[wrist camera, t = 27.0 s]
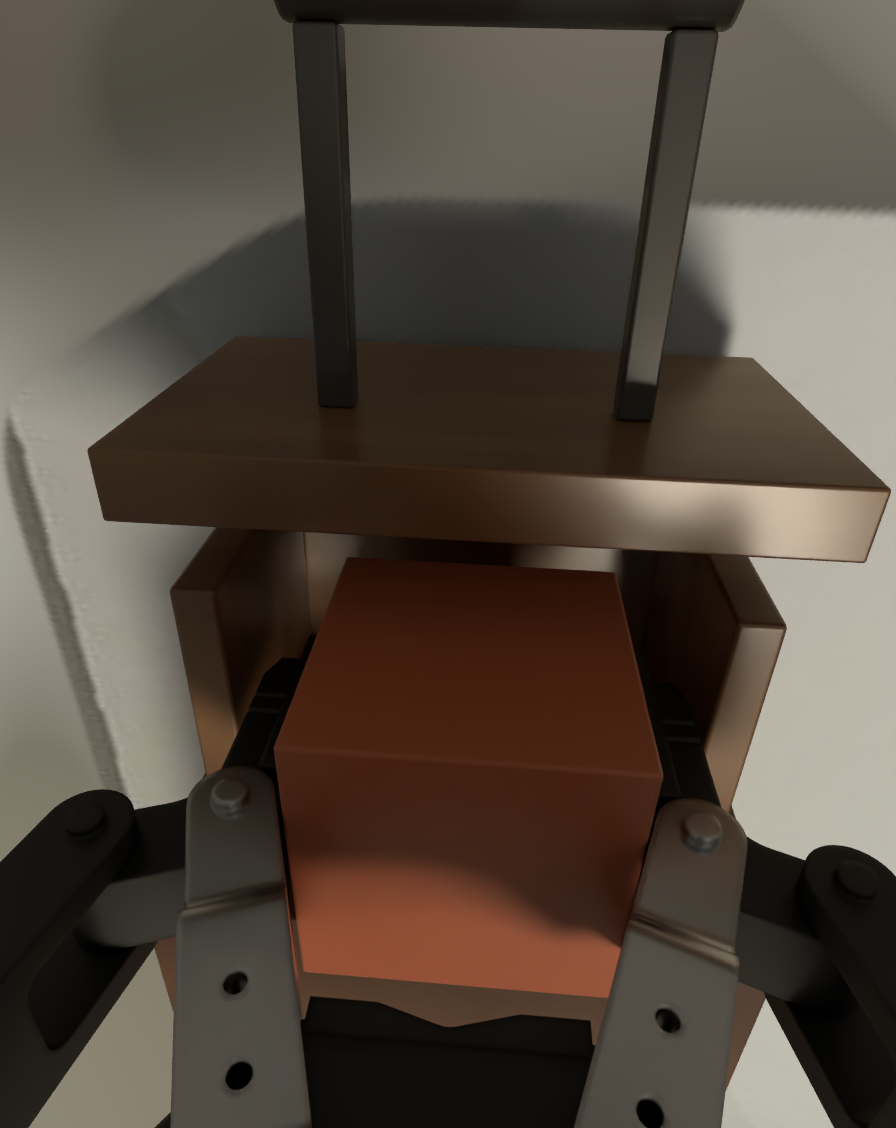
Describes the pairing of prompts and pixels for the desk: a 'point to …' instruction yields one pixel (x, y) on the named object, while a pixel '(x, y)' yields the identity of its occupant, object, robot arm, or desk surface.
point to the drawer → (491, 433)
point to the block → (468, 778)
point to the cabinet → (468, 997)
